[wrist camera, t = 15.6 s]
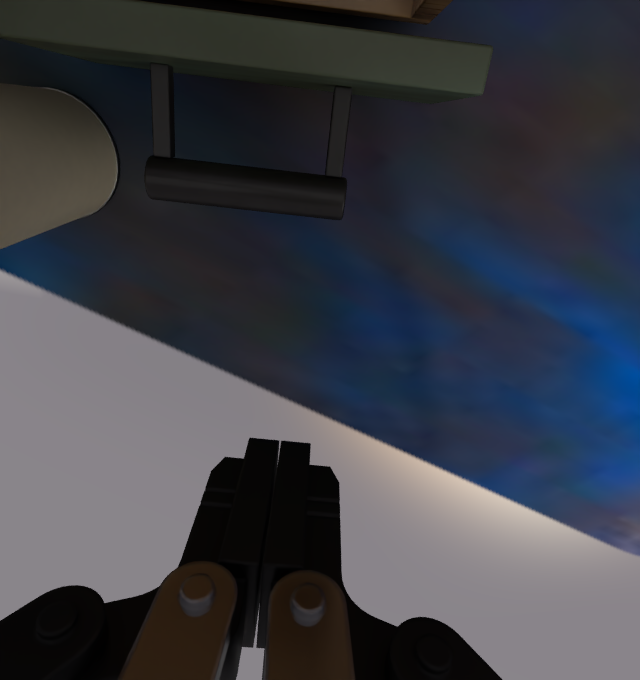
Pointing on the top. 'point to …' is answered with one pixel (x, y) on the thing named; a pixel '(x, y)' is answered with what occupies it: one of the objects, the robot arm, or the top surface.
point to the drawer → (256, 78)
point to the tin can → (51, 161)
